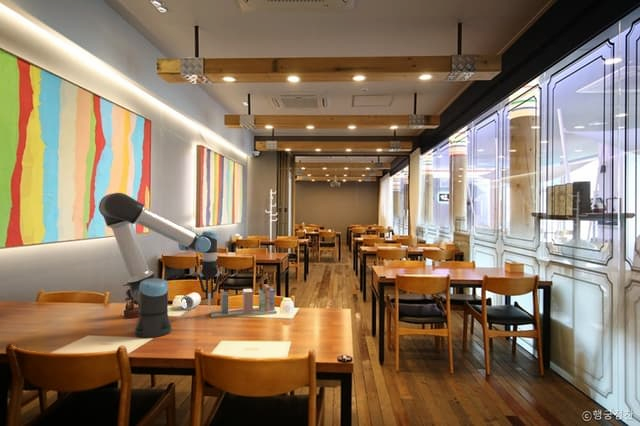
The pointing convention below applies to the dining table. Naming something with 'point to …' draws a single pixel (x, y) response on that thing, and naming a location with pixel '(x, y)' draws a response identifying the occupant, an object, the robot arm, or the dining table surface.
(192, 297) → the mug
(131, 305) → the music box
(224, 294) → the bookend
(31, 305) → the dining table surface
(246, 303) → the book
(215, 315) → the rail
